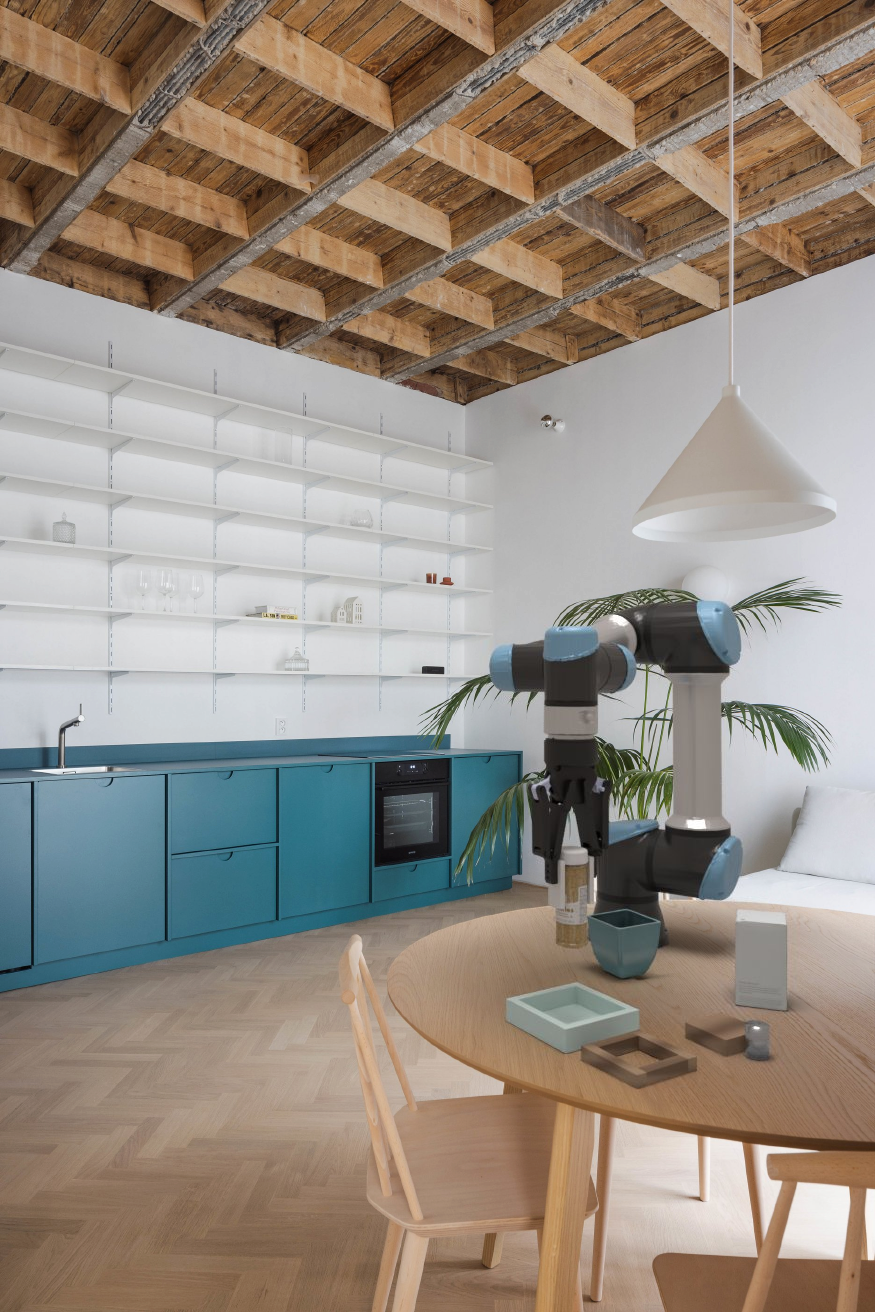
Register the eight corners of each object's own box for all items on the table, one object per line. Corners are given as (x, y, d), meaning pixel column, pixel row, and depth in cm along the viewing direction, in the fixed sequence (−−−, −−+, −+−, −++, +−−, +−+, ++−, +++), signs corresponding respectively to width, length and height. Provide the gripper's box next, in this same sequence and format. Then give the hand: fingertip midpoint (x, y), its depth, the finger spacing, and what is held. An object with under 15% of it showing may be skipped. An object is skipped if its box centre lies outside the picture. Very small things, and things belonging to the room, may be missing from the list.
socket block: (581, 1060, 115) (581, 1045, 115) (639, 1043, 120) (638, 1029, 120) (637, 1091, 106) (637, 1075, 106) (696, 1071, 112) (696, 1056, 112)
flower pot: (619, 985, 142) (619, 928, 142) (585, 969, 150) (585, 915, 150) (662, 977, 146) (662, 921, 147) (627, 961, 154) (627, 908, 154)
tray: (506, 1020, 128) (506, 998, 128) (576, 1003, 135) (576, 982, 135) (565, 1053, 117) (565, 1029, 117) (639, 1032, 124) (639, 1010, 124)
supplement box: (788, 1012, 131) (787, 924, 131) (734, 1005, 134) (733, 920, 134) (787, 995, 138) (786, 912, 138) (736, 989, 141) (735, 907, 141)
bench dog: (740, 1054, 116) (739, 1023, 117) (755, 1049, 118) (755, 1018, 118) (759, 1063, 114) (759, 1031, 114) (774, 1058, 115) (774, 1026, 116)
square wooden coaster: (685, 1041, 122) (685, 1022, 122) (721, 1030, 125) (721, 1012, 126) (726, 1060, 116) (725, 1040, 116) (762, 1048, 119) (762, 1029, 120)
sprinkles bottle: (549, 945, 126) (548, 848, 126) (566, 938, 129) (565, 843, 129) (577, 952, 123) (576, 852, 123) (594, 944, 126) (593, 847, 126)
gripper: (537, 740, 119) (537, 919, 118) (636, 736, 128) (636, 902, 127) (504, 737, 125) (504, 907, 125) (600, 733, 134) (600, 891, 134)
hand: (571, 904), depth 126 cm, fingers closed on sprinkles bottle, 4 cm apart
